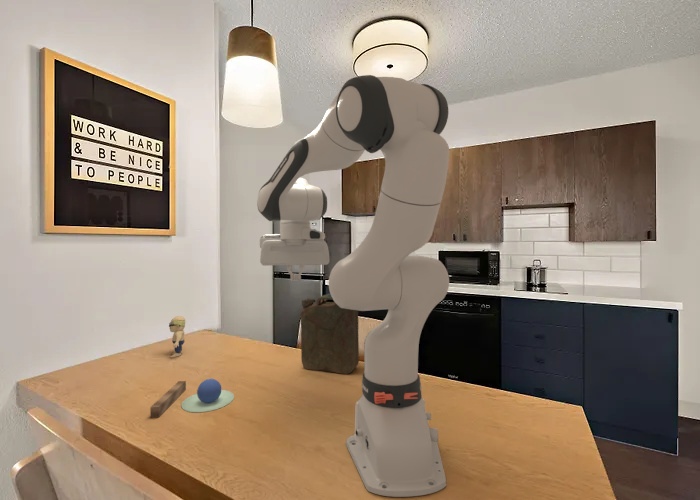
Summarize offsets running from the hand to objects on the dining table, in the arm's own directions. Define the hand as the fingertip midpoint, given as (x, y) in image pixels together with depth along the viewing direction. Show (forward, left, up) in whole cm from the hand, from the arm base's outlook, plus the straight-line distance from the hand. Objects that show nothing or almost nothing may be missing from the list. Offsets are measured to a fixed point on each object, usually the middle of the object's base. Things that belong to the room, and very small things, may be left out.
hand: (295, 280), depth 100 cm
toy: (+33, +48, -31) cm, 66 cm away
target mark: (-8, +23, -31) cm, 39 cm away
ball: (-9, +22, -28) cm, 37 cm away
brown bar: (-8, +33, -31) cm, 46 cm away
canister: (+13, -10, -31) cm, 35 cm away
